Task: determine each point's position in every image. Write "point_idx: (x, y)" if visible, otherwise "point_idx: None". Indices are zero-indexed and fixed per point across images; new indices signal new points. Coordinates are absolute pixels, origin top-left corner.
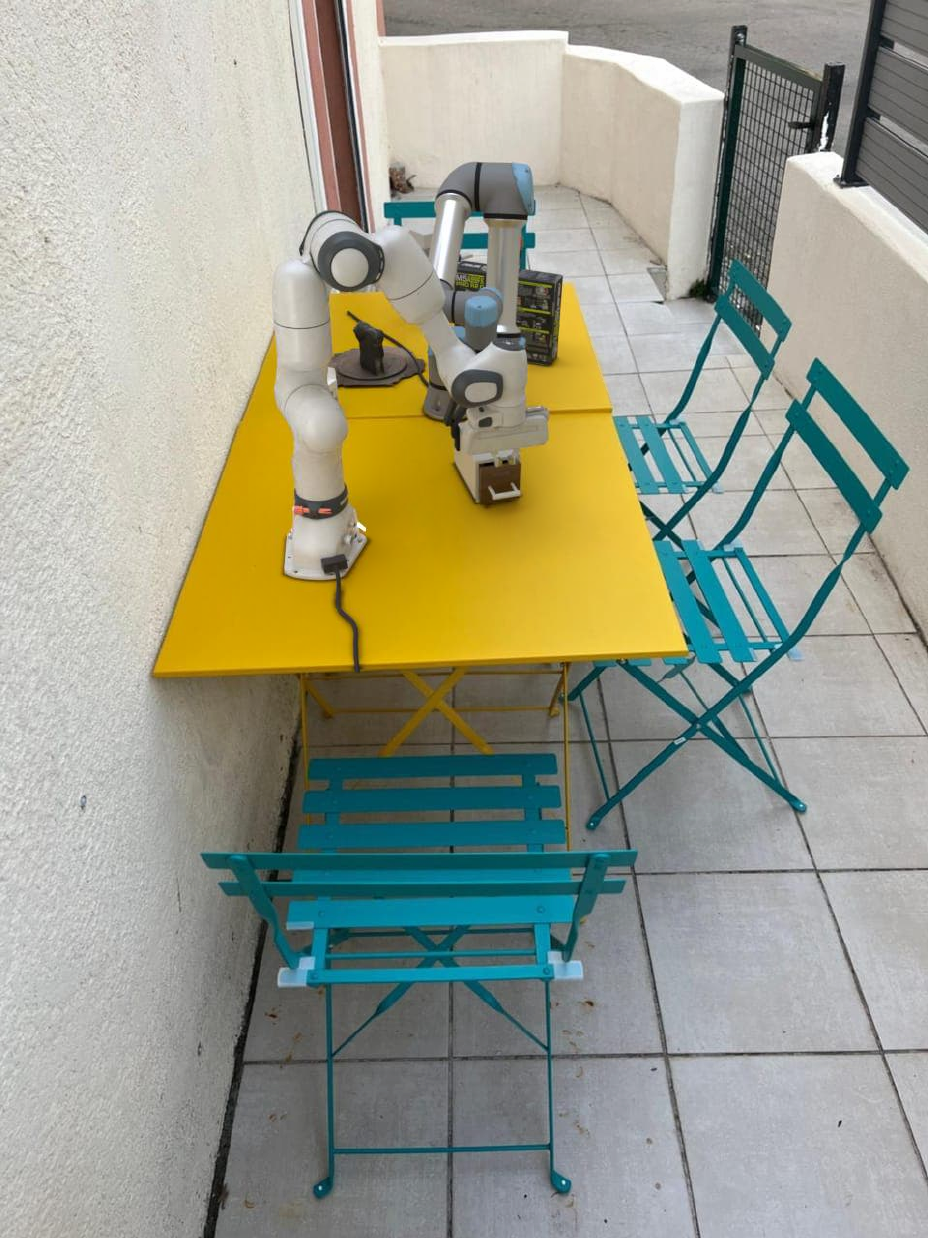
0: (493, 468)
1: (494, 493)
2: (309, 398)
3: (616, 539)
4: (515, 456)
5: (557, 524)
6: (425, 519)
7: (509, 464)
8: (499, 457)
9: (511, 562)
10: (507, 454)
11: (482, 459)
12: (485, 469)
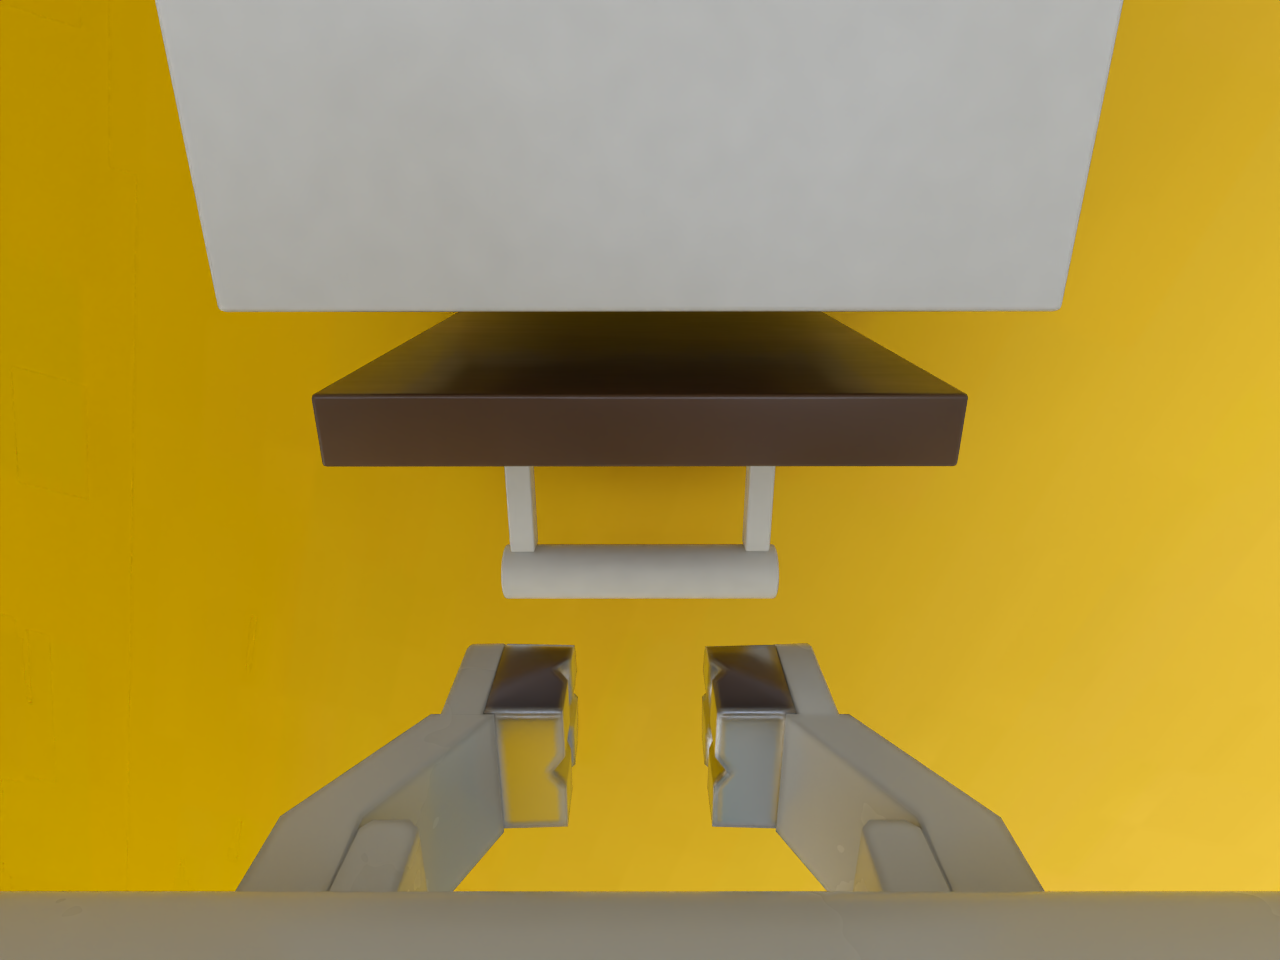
0: (521, 465)
1: (528, 538)
2: None
3: (1170, 880)
4: (827, 870)
5: (933, 680)
6: (12, 379)
7: (703, 739)
8: (544, 734)
9: None
10: (846, 240)
11: (354, 289)
12: (398, 463)
